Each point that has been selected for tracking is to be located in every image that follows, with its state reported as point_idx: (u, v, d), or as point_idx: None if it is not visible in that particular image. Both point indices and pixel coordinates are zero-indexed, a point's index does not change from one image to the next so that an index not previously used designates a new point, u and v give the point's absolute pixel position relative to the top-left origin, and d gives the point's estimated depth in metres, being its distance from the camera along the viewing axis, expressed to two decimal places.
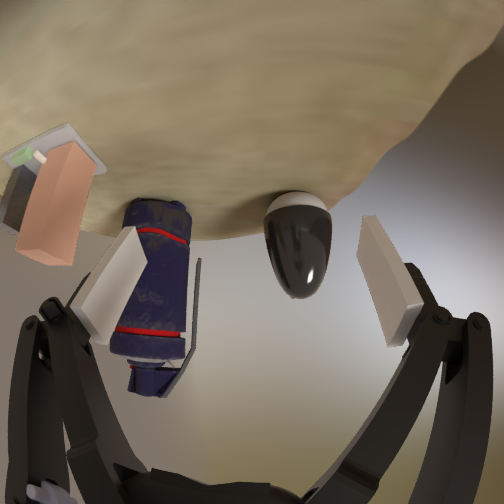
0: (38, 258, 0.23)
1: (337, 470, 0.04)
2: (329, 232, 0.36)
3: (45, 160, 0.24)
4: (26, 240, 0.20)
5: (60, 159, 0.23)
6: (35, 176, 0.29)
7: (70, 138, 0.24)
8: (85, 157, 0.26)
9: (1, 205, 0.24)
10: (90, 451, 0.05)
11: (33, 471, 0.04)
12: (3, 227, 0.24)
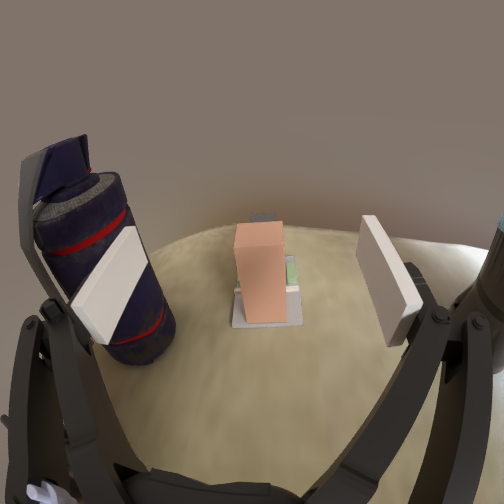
0: (258, 228, 0.32)
1: (337, 470, 0.04)
2: None
3: None
4: None
5: None
6: None
7: (288, 319, 0.37)
8: (265, 320, 0.37)
9: None
10: (90, 451, 0.05)
11: (33, 471, 0.04)
12: (267, 216, 0.43)
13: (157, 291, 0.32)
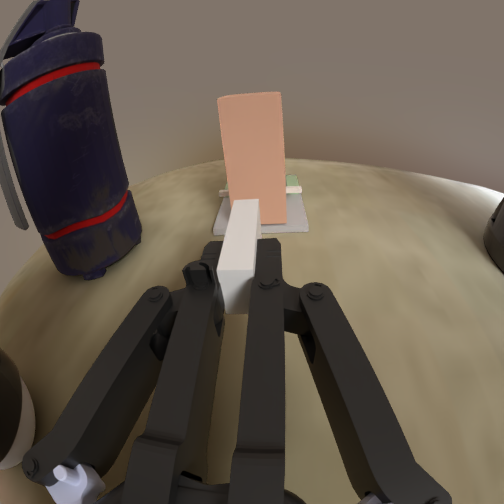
0: (250, 93, 0.23)
1: (234, 456, 0.05)
2: None
3: None
4: None
5: None
6: None
7: (289, 222, 0.28)
8: None
9: None
10: (165, 455, 0.05)
11: (75, 456, 0.05)
12: None
13: (120, 170, 0.23)
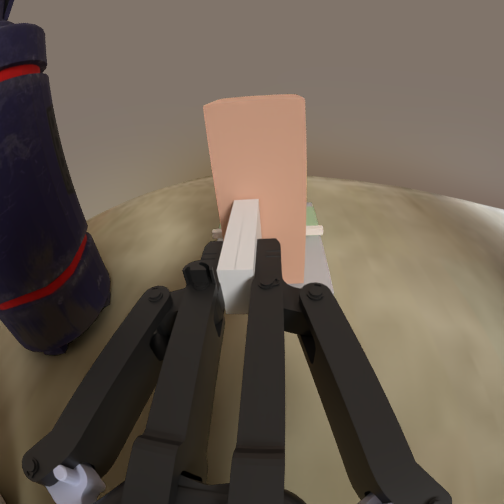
0: (255, 96, 0.16)
1: (234, 456, 0.05)
2: None
3: None
4: None
5: None
6: None
7: None
8: None
9: None
10: (165, 455, 0.05)
11: (75, 456, 0.05)
12: None
13: (68, 218, 0.15)
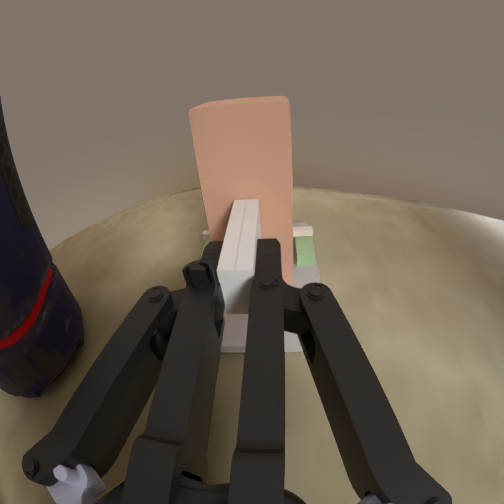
0: (242, 99, 0.16)
1: (234, 456, 0.05)
2: None
3: None
4: None
5: None
6: None
7: None
8: None
9: None
10: (165, 455, 0.05)
11: (75, 456, 0.05)
12: None
13: (24, 261, 0.12)
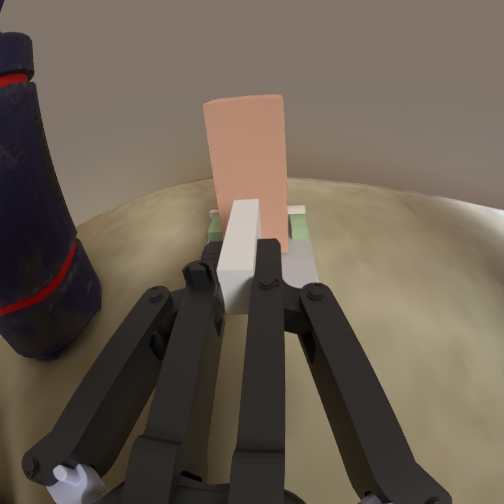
0: None
1: (234, 456, 0.05)
2: None
3: None
4: None
5: None
6: None
7: None
8: None
9: None
10: (165, 455, 0.05)
11: (75, 456, 0.05)
12: None
13: (57, 226, 0.15)
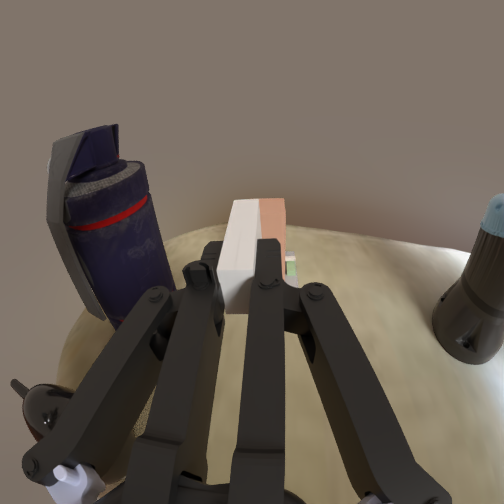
0: (265, 202, 0.40)
1: (234, 456, 0.05)
2: None
3: None
4: None
5: None
6: None
7: None
8: None
9: None
10: (165, 455, 0.05)
11: (75, 456, 0.05)
12: None
13: (169, 273, 0.36)
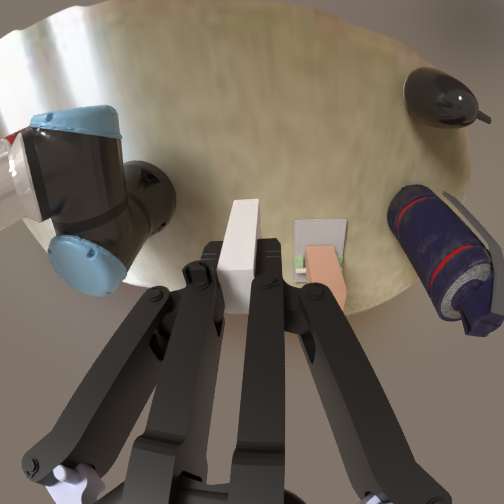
0: None
1: (234, 456, 0.05)
2: (426, 70, 0.26)
3: (305, 269, 0.53)
4: None
5: (306, 258, 0.51)
6: None
7: (304, 224, 0.50)
8: (320, 247, 0.51)
9: None
10: (165, 455, 0.05)
11: (75, 456, 0.05)
12: None
13: (402, 238, 0.40)
